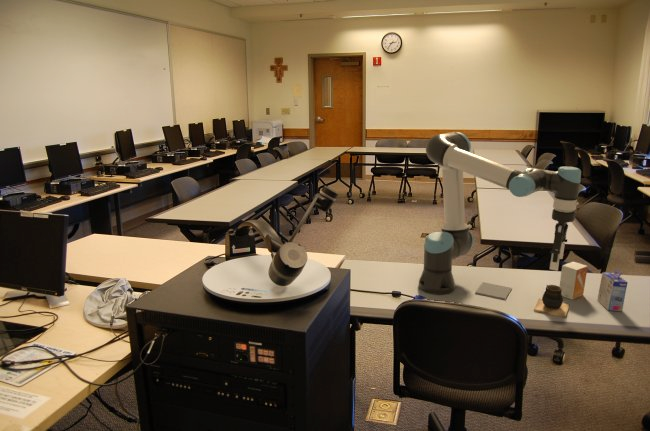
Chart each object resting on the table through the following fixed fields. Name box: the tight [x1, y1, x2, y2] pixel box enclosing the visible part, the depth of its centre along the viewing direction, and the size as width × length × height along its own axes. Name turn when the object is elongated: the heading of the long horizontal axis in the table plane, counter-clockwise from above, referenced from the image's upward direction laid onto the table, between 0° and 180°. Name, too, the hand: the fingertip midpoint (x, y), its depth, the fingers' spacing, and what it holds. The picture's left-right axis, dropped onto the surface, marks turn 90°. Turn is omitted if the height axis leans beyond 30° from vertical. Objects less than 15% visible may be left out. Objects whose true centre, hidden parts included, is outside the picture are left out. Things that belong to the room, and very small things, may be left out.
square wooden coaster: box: [533, 298, 570, 319], centre depth 186 cm, size 11×11×1 cm
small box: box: [559, 261, 588, 301], centre depth 195 cm, size 8×6×13 cm
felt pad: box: [475, 282, 512, 301], centre depth 201 cm, size 12×12×1 cm
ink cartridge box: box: [597, 269, 628, 312], centre depth 185 cm, size 10×6×14 cm, turn 174°
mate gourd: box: [541, 284, 564, 309], centre depth 184 cm, size 7×8×10 cm
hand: (556, 263), depth 181 cm, fingers open, 13 cm apart
